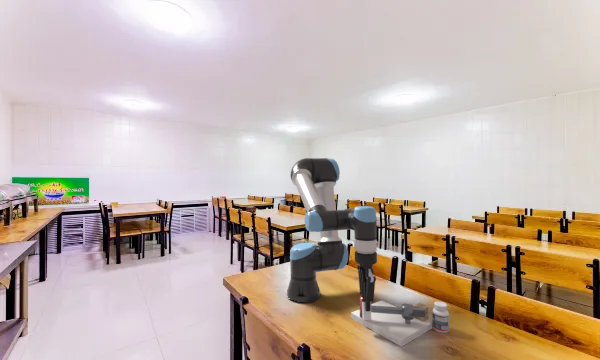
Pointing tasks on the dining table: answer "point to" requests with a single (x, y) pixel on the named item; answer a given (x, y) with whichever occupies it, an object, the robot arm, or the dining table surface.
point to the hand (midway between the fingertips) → (366, 318)
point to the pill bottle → (440, 317)
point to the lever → (397, 310)
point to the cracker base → (393, 325)
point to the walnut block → (425, 312)
